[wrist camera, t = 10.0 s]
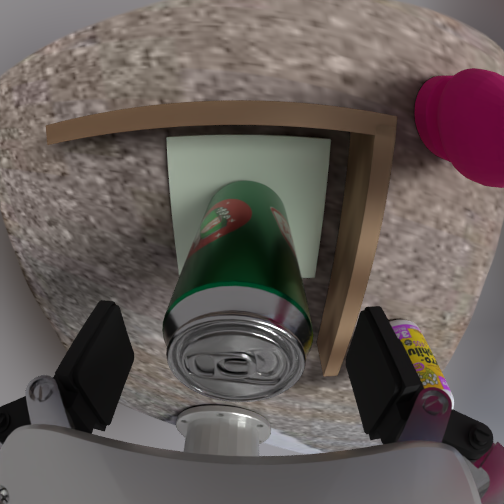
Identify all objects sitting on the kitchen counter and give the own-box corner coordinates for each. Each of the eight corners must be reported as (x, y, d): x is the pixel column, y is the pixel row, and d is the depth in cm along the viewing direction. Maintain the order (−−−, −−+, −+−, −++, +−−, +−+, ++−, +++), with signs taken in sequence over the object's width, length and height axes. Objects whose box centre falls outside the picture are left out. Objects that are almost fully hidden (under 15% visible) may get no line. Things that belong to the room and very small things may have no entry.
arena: (329, 341, 25) (337, 375, 22) (125, 334, 25) (112, 365, 22) (369, 111, 16) (397, 116, 12) (80, 117, 16) (45, 125, 12)
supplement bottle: (429, 325, 25) (480, 428, 14) (389, 366, 28) (422, 466, 17) (386, 307, 23) (441, 433, 12) (344, 355, 26) (372, 474, 15)
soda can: (283, 250, 20) (305, 407, 10) (209, 249, 20) (170, 402, 10) (287, 178, 18) (332, 306, 7) (205, 177, 18) (137, 302, 7)
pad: (313, 274, 22) (314, 277, 21) (180, 271, 22) (179, 275, 21) (328, 138, 17) (330, 139, 16) (168, 136, 17) (166, 137, 16)
